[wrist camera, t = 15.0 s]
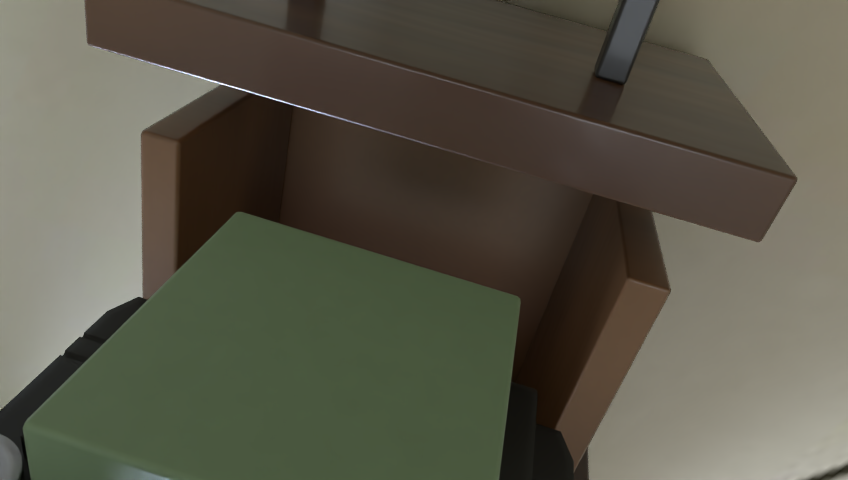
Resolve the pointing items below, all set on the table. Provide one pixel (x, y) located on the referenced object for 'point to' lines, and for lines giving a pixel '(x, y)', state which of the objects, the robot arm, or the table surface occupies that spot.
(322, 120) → the drawer
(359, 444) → the block
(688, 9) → the table surface
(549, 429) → the robot arm
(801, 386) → the table surface
